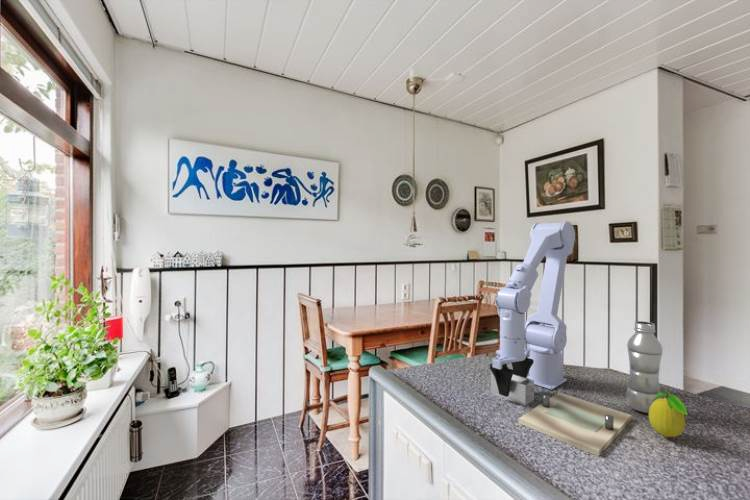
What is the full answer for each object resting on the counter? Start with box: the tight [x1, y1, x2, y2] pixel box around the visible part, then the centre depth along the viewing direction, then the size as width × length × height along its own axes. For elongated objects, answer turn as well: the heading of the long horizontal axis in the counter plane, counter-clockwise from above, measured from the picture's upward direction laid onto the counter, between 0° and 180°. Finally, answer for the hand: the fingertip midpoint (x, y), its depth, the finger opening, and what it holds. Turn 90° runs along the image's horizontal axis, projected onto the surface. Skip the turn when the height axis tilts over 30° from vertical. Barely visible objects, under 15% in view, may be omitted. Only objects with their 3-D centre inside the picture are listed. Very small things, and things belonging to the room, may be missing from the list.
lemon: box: [648, 386, 689, 438], centre depth 68 cm, size 7×6×10 cm
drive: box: [490, 372, 535, 406], centre depth 86 cm, size 4×9×5 cm, turn 40°
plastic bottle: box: [625, 320, 663, 414], centre depth 79 cm, size 6×7×20 cm
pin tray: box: [518, 391, 633, 457], centre depth 74 cm, size 20×15×4 cm
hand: (511, 390), depth 86 cm, fingers open, 7 cm apart
